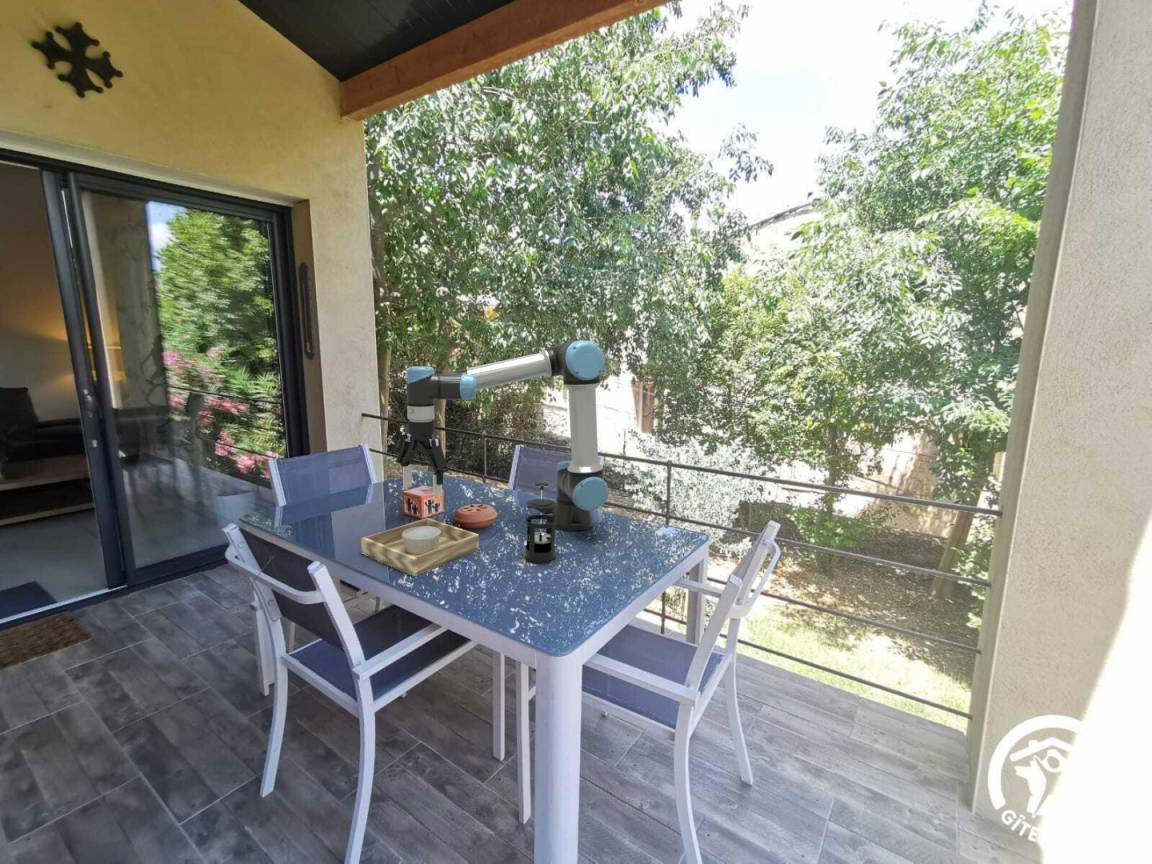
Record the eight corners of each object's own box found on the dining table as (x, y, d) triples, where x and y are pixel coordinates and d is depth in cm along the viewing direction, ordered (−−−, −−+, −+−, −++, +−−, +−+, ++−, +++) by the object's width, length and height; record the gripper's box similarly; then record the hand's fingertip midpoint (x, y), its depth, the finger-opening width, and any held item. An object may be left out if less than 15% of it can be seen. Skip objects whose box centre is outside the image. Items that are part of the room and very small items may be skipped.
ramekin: (416, 539, 160) (416, 523, 159) (448, 544, 157) (447, 528, 156) (394, 552, 149) (393, 535, 149) (427, 558, 146) (427, 541, 145)
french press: (542, 567, 145) (544, 489, 142) (516, 559, 150) (517, 484, 146) (564, 554, 155) (567, 481, 152) (539, 547, 160) (541, 476, 156)
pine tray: (478, 550, 156) (478, 534, 155) (413, 576, 137) (413, 559, 136) (427, 532, 170) (427, 517, 169) (361, 554, 150) (361, 538, 149)
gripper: (383, 417, 151) (385, 486, 155) (440, 426, 138) (440, 501, 141) (404, 414, 158) (406, 481, 161) (460, 423, 144) (461, 496, 147)
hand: (422, 491), depth 151 cm, fingers open, 13 cm apart
